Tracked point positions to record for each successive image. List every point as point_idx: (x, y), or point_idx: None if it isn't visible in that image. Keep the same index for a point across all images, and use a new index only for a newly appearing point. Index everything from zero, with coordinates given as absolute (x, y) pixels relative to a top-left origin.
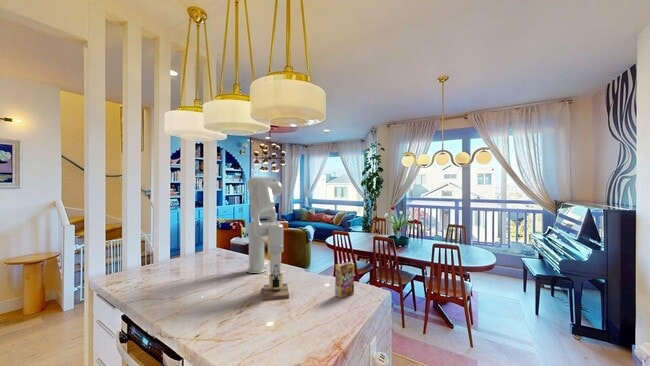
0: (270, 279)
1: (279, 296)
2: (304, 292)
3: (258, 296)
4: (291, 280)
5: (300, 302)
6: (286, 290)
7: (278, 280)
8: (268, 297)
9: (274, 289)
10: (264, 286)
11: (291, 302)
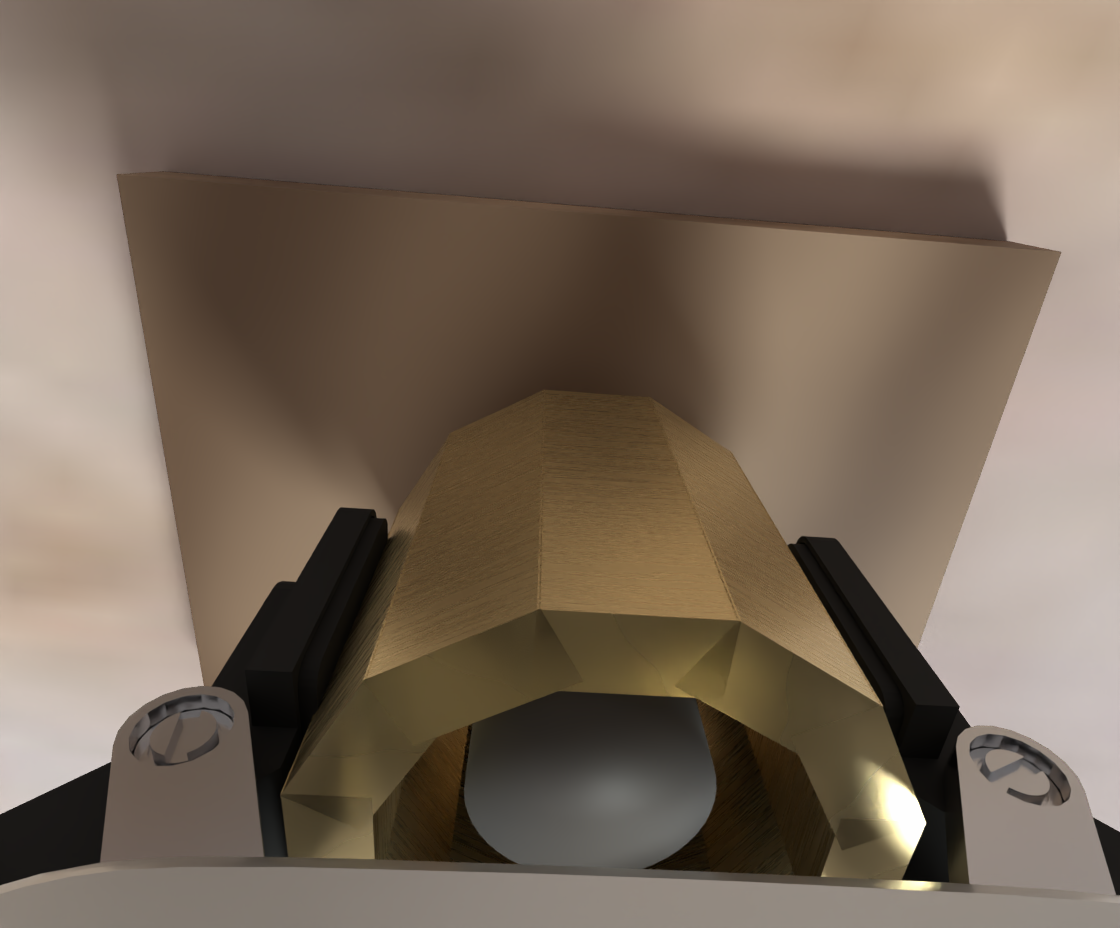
0: (428, 573)
1: (193, 556)
2: None
3: (456, 55)
4: (1098, 810)
5: None
6: None
7: None
8: (153, 318)
9: None
10: (924, 266)
11: (46, 693)
